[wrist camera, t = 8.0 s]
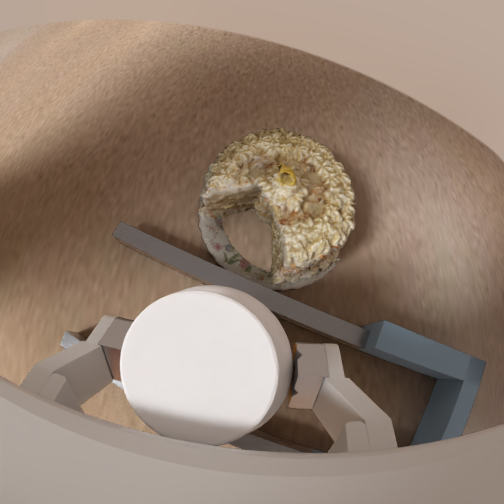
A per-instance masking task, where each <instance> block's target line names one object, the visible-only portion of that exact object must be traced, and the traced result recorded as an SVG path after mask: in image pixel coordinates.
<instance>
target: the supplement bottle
mask: <svg viewBox="0 0 504 504" xmlns="http://www.w3.org/2000/svg"><path fill="white" fill-rule="evenodd" d="M292 372H293V358H292V351H291V347H290V343H289V340H288V338H287V335H286V333H285V331H284V329H283V327H282V325H281V324H280V322H279V321H278V319H277V318H276V317H275V315H274V314H273V313H272V312H271V311H270V310H269V309H268V308H267V307H266V306H265V305H264V304H262V303H261V302H260V301H258V300H257V299H255V298H254V297H252V296H250V295H249V294H247V293H245V292H242V291H240V290H237V289H234V288H230V287H225V286H218V285H202V286H195V287H191V288H187V289H184V290H181V291H179V292H175V293H173V294H170V295H167V296H165V297H162V298H160V299H159V300H157V301H155V302H154V303H152V304H151V305H149V306H148V307H147V308H146V309H144V310H143V311H142V312H141V313H140V314H139V316H138V317H137V318H136V319H135V320H134V322H133V323H132V325H131V326H130V328H129V330H128V332H127V334H126V336H125V339H124V342H123V345H122V349H121V356H120V374H121V381H122V385H123V388H124V391H125V394H126V397H127V399H128V401H129V403H130V404H131V406H132V408H133V409H134V411H135V412H136V414H137V415H138V416H139V417H140V418H141V420H142V421H143V422H144V423H145V424H146V425H147V426H149V427H150V428H151V429H152V430H154V431H155V432H156V433H158V434H159V435H161V436H164V437H168V438H173V439H178V440H183V441H188V442H194V443H200V444H206V445H212V446H219V445H223V444H227V443H230V442H232V441H235V440H237V439H239V438H241V437H243V436H244V435H246V434H248V433H250V432H252V431H254V430H256V429H257V428H259V427H261V426H262V425H263V424H265V423H266V422H267V421H268V420H269V419H270V418H271V417H272V416H273V415H274V414H275V413H276V412H277V410H278V409H279V408H280V406H281V405H282V403H283V401H284V400H285V398H286V395H287V393H288V390H289V388H290V384H291V379H292Z"/></svg>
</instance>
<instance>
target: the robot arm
mask: <svg viewBox="0 0 504 504" xmlns="http://www.w3.org/2000/svg"><path fill="white" fill-rule="evenodd" d="M133 322H134V320H130V319H125V318H121V317H115V316H111V315H107V314H106V315H104V316H103V317H102V319H101V320H100V321H99V323H98V324H97V326H96V327H95V329H94V330H93V331H92V333H91V334H90V336H89V337H88V339H87V340H86V341H81V342H79V343H77V344H75V345H73V346H71V347H69V348H67V349H65V350H63V351H61V352H59V353H57V354H55V355H52V356H50V357H48V358H46V359H44V360H42V361H40V362H38V363H36V364H35V365H34V366H33V368H32V369H31V371H30V372H29V374H28V375H27V376H26V378H25V379H24V381H23V382H22V384H21V385H18V384H16V383H14V382H12V381H10V380H8V379H6V378H4V377H2V376H0V504H504V424H500V425H497V426H494V427H491V428H488V429H484V430H481V431H477V432H474V433H470V434H466V435H462V436H458V437H454V438H449V439H445V440H440V441H435V442H430V443H425V444H419V445H413V446H406V447H399V448H398V447H397V442H396V438H395V433H394V429H393V425H392V421H391V418H390V417H389V416H388V415H387V414H386V413H385V412H383V411H382V410H381V409H380V408H379V407H378V406H377V405H376V404H375V403H374V402H373V401H372V400H371V399H370V398H369V397H368V396H367V395H366V394H365V393H364V392H363V391H362V390H361V389H360V388H359V387H358V386H357V385H356V384H355V383H354V382H352V381H351V380H350V379H349V378H345V375H344V370H343V365H342V360H341V355H340V350H339V346H338V345H337V344H326V343H324V344H322V343H305V342H295V344H294V348H293V357H292V358H293V372H292V379H291V384H290V389H289V393H288V396H289V408H302V409H312V411H313V412H314V414H315V415H316V416H317V418H318V419H319V421H320V422H321V424H322V425H323V426H324V428H325V429H326V431H327V432H328V433H329V435H330V436H331V438H332V439H333V440H334V444H333V445H332V447H331V448H330V450H329V451H328V453H285V452H267V451H254V450H244V449H235V448H226V447H219V446H212V445H206V444H200V443H194V442H188V441H183V440H178V439H173V438H168V437H164V436H160V435H155V434H151V433H147V432H143V431H139V430H136V429H132V428H128V427H125V426H121V425H118V424H115V423H112V422H108V421H105V420H102V419H99V418H96V417H93V416H90V415H88V414H85V413H84V411H83V409H82V408H81V406H80V405H81V404H83V403H84V402H86V401H87V400H88V399H90V398H91V397H92V396H94V395H95V394H96V393H98V392H99V391H100V390H102V389H103V388H104V387H106V386H107V385H108V384H110V383H111V382H112V381H113V380H117V381H121V374H120V356H121V349H122V345H123V342H124V339H125V336H126V334H127V332H128V330H129V328H130V326H131V325H132V323H133ZM121 382H122V381H121Z"/></svg>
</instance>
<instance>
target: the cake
mask: <svg viewBox="0 0 504 504" xmlns="http://www.w3.org/2000/svg"><path fill="white" fill-rule="evenodd" d="M300 135H301V134H299V133H296V134H295V132H293V131H289V132H286V131H285V130H284V129H283V127H281V128H280V129H279V128H276V129H272V130H266V129H263V130H261V132H255V135H254V134H251V133H249V134H248V135H247V136H245V137H244V136H243V137H241V138H240V141H236V140H234V141H233V142H232V143H230V144H229V145H228V147H225V149H224V150H223V153H218V156H217V159H216V162H214V163H213V164H210V165H209V167H210V168H208V172H207V173H206V174H205V178H204V186H203V189H202V191H201V195H200V200H199V201H200V202H199V209H198V216H199V224H198V225H199V228H200V230H201V236H202V237H201V238H202V239H203V241H204V243H205V244H206V248H207V250H208V252H209V253H210V254H212V256H213V258H214V259H215V262H216V263H218V264H219V265H220V266H222V267H223V268H224V269H225V270H227V271H230V272H232V273H234V274H236V275H239V276H241V277H243V278H246V279H248V280H250V281H252V282H255V283H257V284H259V285H262V286H264V287H266V288H268V289H271V290H280V291H281V290H283V291H286V290H289V289H291V288H293V289H299V288H302V287H303V286H307V285H311V284H312V283H314V282H315V281H317V280H319V279H323V277H325V275H326V274H327V273H328V272H330V271H332V267H333V268H335V265H336V263H335V264H334V262H335V261H337V260H340V258H337V257H338V255H339V253H340V252H339V249H341V248H343V246H344V245H345V243H346V241H347V239H348V236H349V235H350V233H351V230H354V227H356V226H355V223H356V222H355V219H354V218H355V209H354V206H356V204H357V203H356V201H355V200H356V199H355V194H354V189H353V187H352V186H351V180H350V178H349V177H350V176H348V175H347V174H346V173H345V169H344V165H342V164H341V163H340V162H337V160H335V159H334V155H333V153H332V152H331V151H330V150H329V149H328V148H327V147H326V146H324V145H322V144H320V143H319V142H318V141H317V142H315V140H314V139H312V138H311V137H307V136H306V137H304V136H303V135H302V136H300ZM250 208H253V209H256V211H257V212H256V216H259V220H261V221H264V222H265V223H268V224H270V226H271V233H272V241H271V243H272V265H271V272H266V271H265V270H262V268H257V267H256V266H253V265H252V264H251V263H250V262H248V261H247V260H245V259H244V258H243V257H242V256H241V255H240V254H239V253H238V252H237V251H236V250H235V248H234V247H233V246H232V245H231V243H230V241H229V239H228V236H227V235H226V234H225V231H224V228H223V225H222V218H226V217H227V216H228V215H229V214H234V213H239V212H241V211H245V212H246V211H247V209H250ZM330 263H332V264H333V265H332V266H331V265H330ZM330 268H331V269H330ZM328 270H329V271H328ZM319 272H320V273H319ZM316 275H318V277H316Z"/></svg>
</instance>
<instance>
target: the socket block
mask: <svg viewBox="0 0 504 504" xmlns="http://www.w3.org/2000/svg"><path fill="white" fill-rule="evenodd" d="M363 329H366V330H368V331H371V332H370V334H369V337H368V340H367V343H366V345H365V348H364V349H357V350H360V351H362V352H365V353H367V354H370V355H373V356H375V357H378V358H381V359H383V360H386V361H389V362H391V363H394V364H397V365H400V366H402V367H405V368H408V369H411V370H414V371H416V372H419V373H422V374H425V375H428V376H431V377H434V378H436V379H437V380H436V383H435V386H434V389H433V391H432V394H431V397H430V399H429V402H428V404H427V407H426V410H425V412H424V414H423V417H422V419H421V422H420V424H419V426H418V428H417V431H416V433H415V435H414V437H413V439H412V442H411V444H410V446H413V445H419V444H425V443H430V442H435V441H440V440H445V439H449V438H454V437H458V436H461V435H462V432H463V430H464V427H465V425H466V422H467V420H468V417H469V414H470V412H471V409H472V406H473V403H474V400H475V398H476V395H477V391H478V388H479V385H480V382H481V379H482V375H483V372H484V368H485V364H486V362H485V361H483V360H480V359H478V358H475V357H473V356H470V355H468V354H465V353H463V352H461V351H458V350H456V349H453V348H451V347H448V346H446V345H443V344H441V343H439V342H436V341H434V340H431V339H429V338H426V337H424V336H422V335H419V334H417V333H414V332H412V331H410V330H407V329H405V328H402V327H400V326H398V325H395V324H393V323H390V322H388V321H386V320H383V321H379V322H375V323H371V324H367V325H364V327H363ZM311 450H312V452H313V453H325V452H322V451H319V450H315V449H312V448H311Z"/></svg>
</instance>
